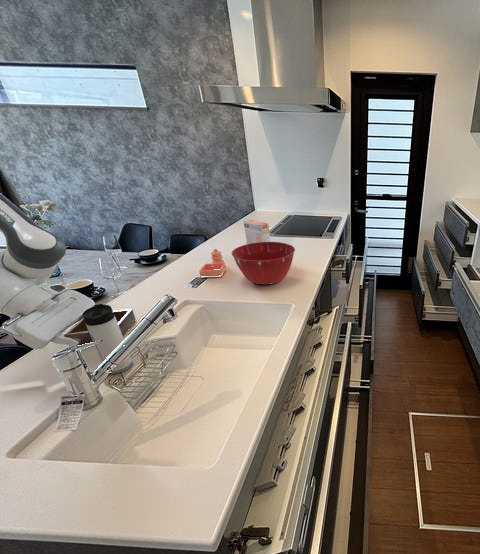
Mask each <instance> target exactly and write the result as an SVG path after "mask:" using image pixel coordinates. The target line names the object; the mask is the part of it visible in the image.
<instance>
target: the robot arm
mask: <svg viewBox="0 0 480 554" xmlns="http://www.w3.org/2000/svg"><path fill="white" fill-rule="evenodd" d="M0 232H1V234H2V235H3V236H4V239H5V243H6V249H5V251H4V252H2V253H0V313H1V314H3V315H6V316H8V317H10V318H9V319H7V320H5V321H4V322H3V323H2V324H1V329H2V332H4V333H5V334H8V335H9V336H12V338H14V339H15V340H16V341H19V342H20V343H22V344H23V345H25V346H27V347H29V348H31V349H33V350H42V349H44V348H45V347H46V346H48V345H49V344H50V343H53V344H56V345H67V346H68V347H69V346H77V345H78V344H79V343H80V342H81V340H80V339H78V338H76V337H74V338H68V337H65V336H64V335H65V334H63V333H64V332H65V331H67V330H68V329H69V328H70V327H72V326H74V325H75V324H76V323H78V322H79V321H80V320H81V319H82V318H83V316H82V314H83V312H84V311H85V310H87V309H89V308H91V307H93V306H94V305H96V303H95V301H94V300H93V299H92V298H90V297H89V296H86V295H85V294H83V293H81V292H79V291H77V290H74V289H69V286H68V285H66V284H64V283H55V284H51V285H44V286H43V285H42V284H43V283H45V282H46V281H48V280H49V279H50V278H51V276H53V273H54V271H55V270H56V268H57V266H58V265H59V263H60V262H61V261H62V259H63V258H64V257H65V255H66V254H67V253H66V252H67V245H66V243H65V242H64V240H63V239H62V238H61V237H60V236H59V235H58V234H56V233H55V232H53V231H51V230H49V229H47V228H45V227H44V226H41V224H39V223H37V222H35V221H34V220H33V219H32V218H31V217H30V216H28V215H27V214H26V213H25V212H24V211H23V210H21V209H20V208H19V207H18V206H17V205H16V204H14V202H13V201H11V200H10V199H9V198H8V197H7V196H5V195H4V194H3V193H2V192H0ZM39 285H42V286H39Z"/></svg>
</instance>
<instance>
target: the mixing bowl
mask: <svg viewBox="0 0 480 554" xmlns="http://www.w3.org/2000/svg"><path fill="white" fill-rule="evenodd" d="M295 252H296V248H295V247H294V246H293V245H291V244H290V243H286V242H280V241H270V242H258V243H251V244H247V243H245V244H243V245H240V246H238V247H236V248H234V249H233V250H232V251H231V256H232V257H233V259H234V261H235V263H236V265H237V267H238V269H239V270H240V272H241V273H242V275H243V276H244V277H245V279H246V280H247V281H249V282H251V283H253V284H255V283H256V284H255V285H258V284H270V283H275V282H277V283H279V282H281V281H282V280H284V279H285V278H286V276H287V275H288V274H289V271H290V269H291V267H292V264H293V260H294V255H295ZM280 280H281V281H280ZM278 281H279V282H278ZM275 284H276V283H275Z"/></svg>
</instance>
